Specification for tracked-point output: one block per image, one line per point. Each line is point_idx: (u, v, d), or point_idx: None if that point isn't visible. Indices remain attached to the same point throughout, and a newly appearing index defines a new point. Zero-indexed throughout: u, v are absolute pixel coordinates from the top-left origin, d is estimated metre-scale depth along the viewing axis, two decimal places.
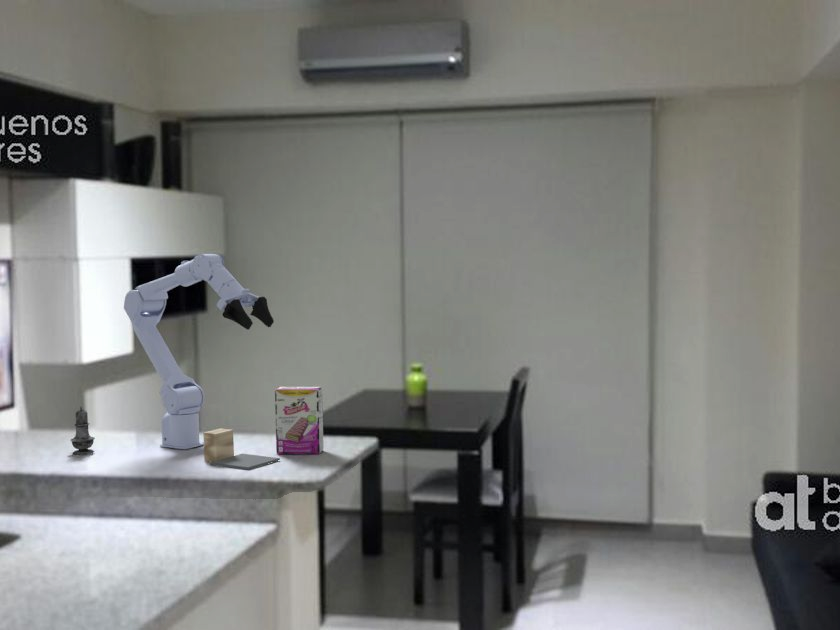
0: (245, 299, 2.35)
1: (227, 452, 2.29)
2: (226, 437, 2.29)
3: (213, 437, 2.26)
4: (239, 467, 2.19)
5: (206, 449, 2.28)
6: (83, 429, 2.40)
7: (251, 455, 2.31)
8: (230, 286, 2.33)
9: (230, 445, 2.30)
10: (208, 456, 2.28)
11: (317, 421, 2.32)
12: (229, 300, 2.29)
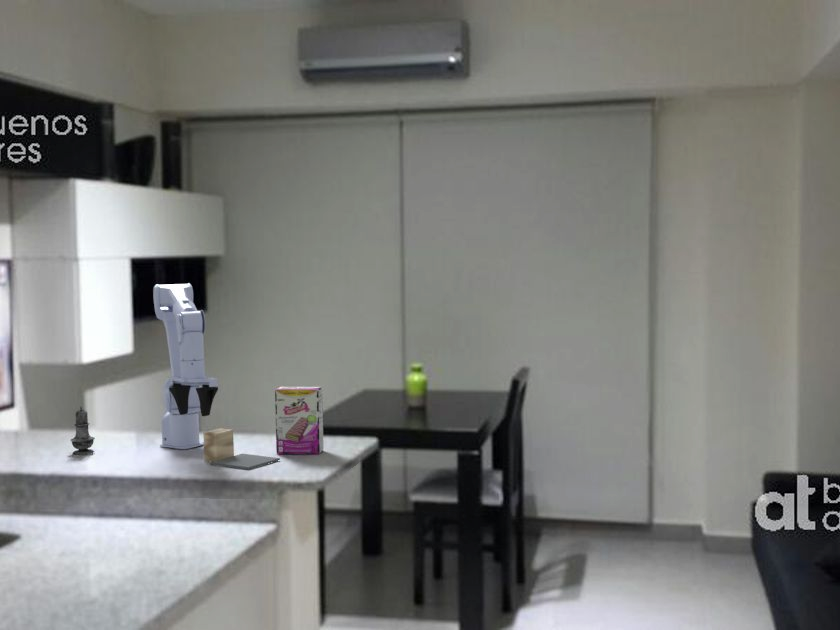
0: None
1: (226, 452, 2.29)
2: (226, 437, 2.29)
3: (213, 437, 2.26)
4: (239, 467, 2.19)
5: (206, 449, 2.28)
6: (83, 429, 2.40)
7: (251, 455, 2.31)
8: (180, 366, 2.32)
9: (230, 445, 2.30)
10: (208, 456, 2.28)
11: (317, 421, 2.32)
12: (176, 380, 2.34)
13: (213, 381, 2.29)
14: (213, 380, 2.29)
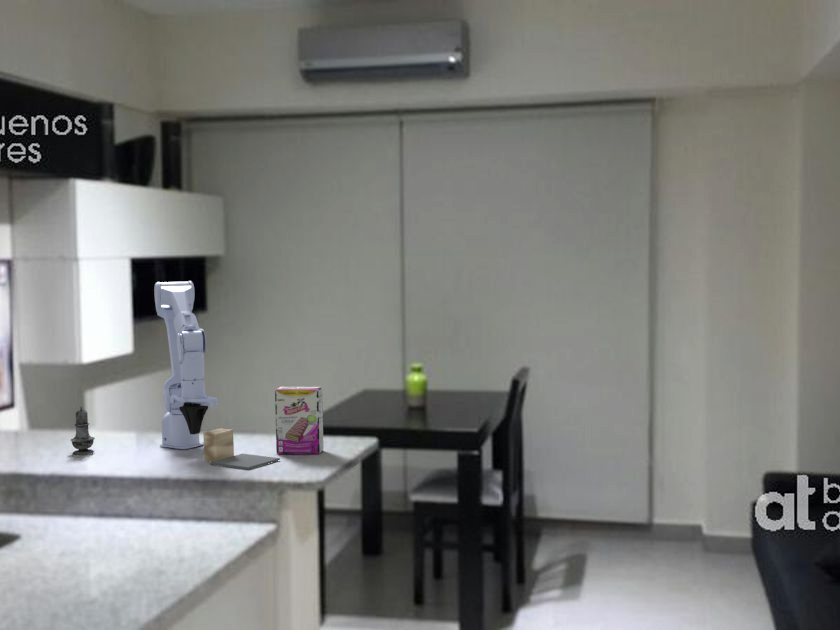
0: None
1: (226, 452, 2.29)
2: (226, 437, 2.29)
3: (213, 437, 2.26)
4: (239, 467, 2.19)
5: (206, 449, 2.28)
6: (83, 429, 2.40)
7: (251, 455, 2.31)
8: (181, 385, 2.32)
9: (230, 445, 2.30)
10: (208, 456, 2.28)
11: (317, 421, 2.32)
12: (177, 399, 2.35)
13: (213, 401, 2.29)
14: (213, 400, 2.29)
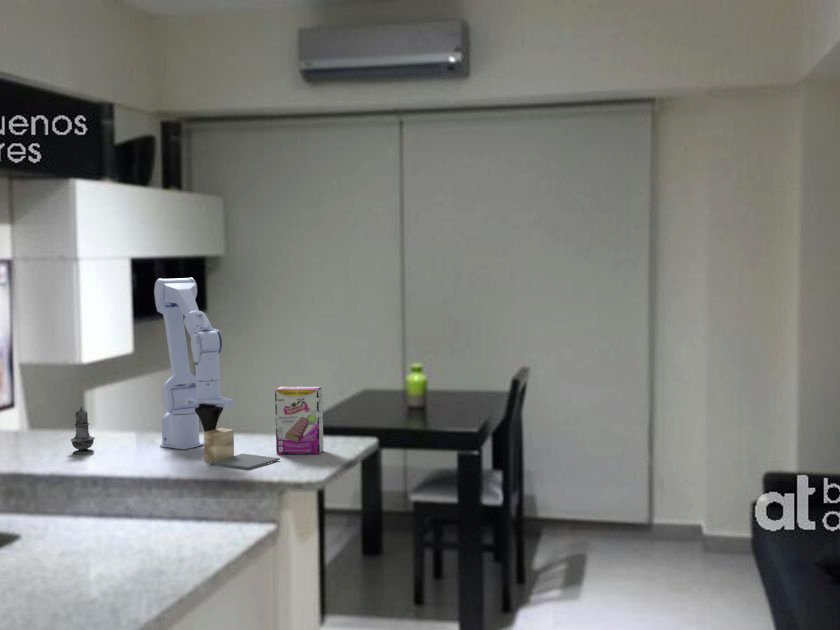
0: None
1: (227, 452, 2.29)
2: (226, 437, 2.29)
3: (214, 437, 2.26)
4: (239, 467, 2.19)
5: (206, 449, 2.28)
6: (83, 429, 2.40)
7: (251, 455, 2.31)
8: (196, 386, 2.29)
9: (230, 445, 2.30)
10: (208, 456, 2.28)
11: (317, 421, 2.32)
12: (192, 400, 2.32)
13: (229, 402, 2.26)
14: (229, 401, 2.26)
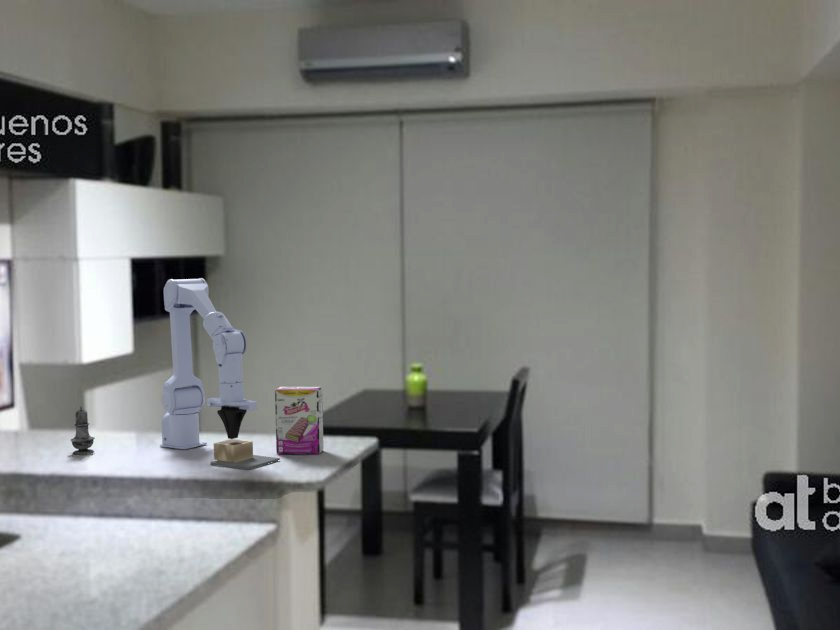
0: None
1: None
2: None
3: (232, 459, 2.23)
4: (239, 467, 2.19)
5: (222, 447, 2.25)
6: (83, 429, 2.40)
7: None
8: (219, 388, 2.25)
9: None
10: (217, 449, 2.26)
11: (317, 421, 2.32)
12: (214, 402, 2.28)
13: (253, 404, 2.22)
14: (253, 403, 2.22)
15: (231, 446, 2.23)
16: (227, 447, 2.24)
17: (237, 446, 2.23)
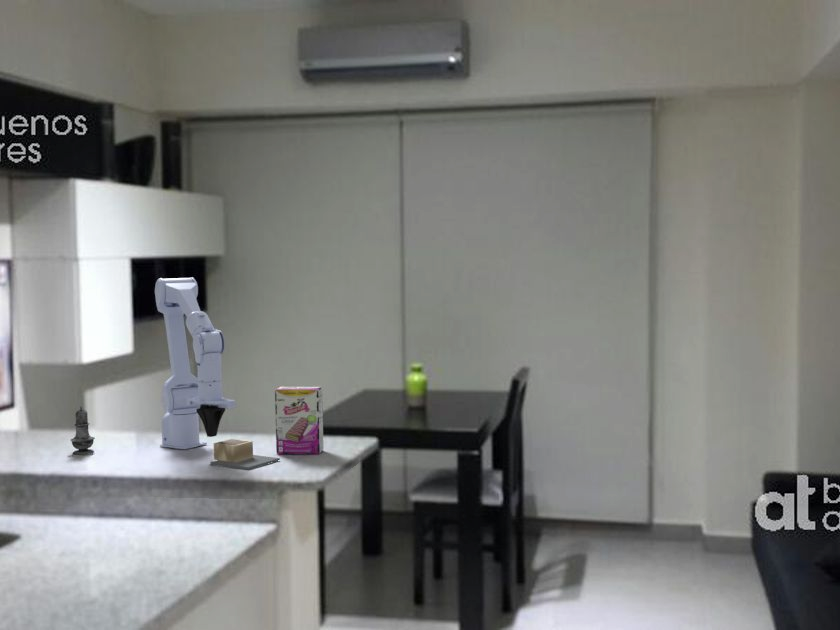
0: None
1: None
2: None
3: (232, 459, 2.23)
4: (239, 467, 2.19)
5: (222, 447, 2.25)
6: (83, 429, 2.40)
7: None
8: (198, 387, 2.29)
9: None
10: (217, 449, 2.26)
11: (317, 421, 2.32)
12: None
13: (231, 403, 2.26)
14: (231, 402, 2.26)
15: (231, 446, 2.23)
16: (227, 447, 2.24)
17: (237, 446, 2.23)
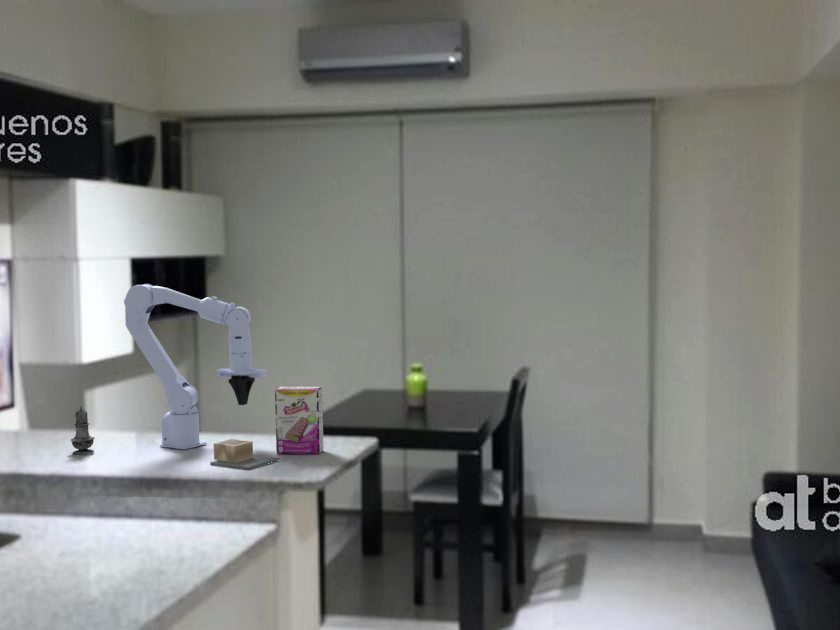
0: None
1: None
2: None
3: (232, 459, 2.23)
4: (239, 467, 2.19)
5: (222, 447, 2.25)
6: (83, 429, 2.40)
7: None
8: None
9: None
10: (217, 449, 2.26)
11: (317, 421, 2.32)
12: (224, 372, 2.48)
13: (263, 372, 2.44)
14: (263, 371, 2.44)
15: (231, 446, 2.23)
16: (227, 447, 2.24)
17: (237, 446, 2.23)
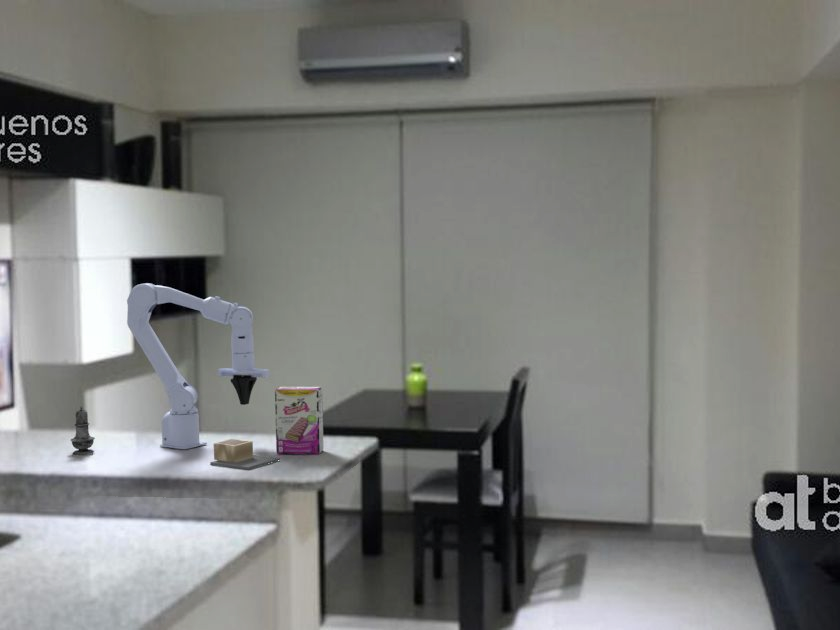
0: None
1: None
2: None
3: (232, 459, 2.23)
4: (239, 467, 2.19)
5: (222, 447, 2.25)
6: (83, 429, 2.40)
7: None
8: (232, 358, 2.47)
9: None
10: (217, 449, 2.26)
11: (317, 421, 2.32)
12: None
13: (266, 372, 2.45)
14: (266, 371, 2.45)
15: (231, 446, 2.23)
16: (227, 447, 2.24)
17: (237, 446, 2.23)
